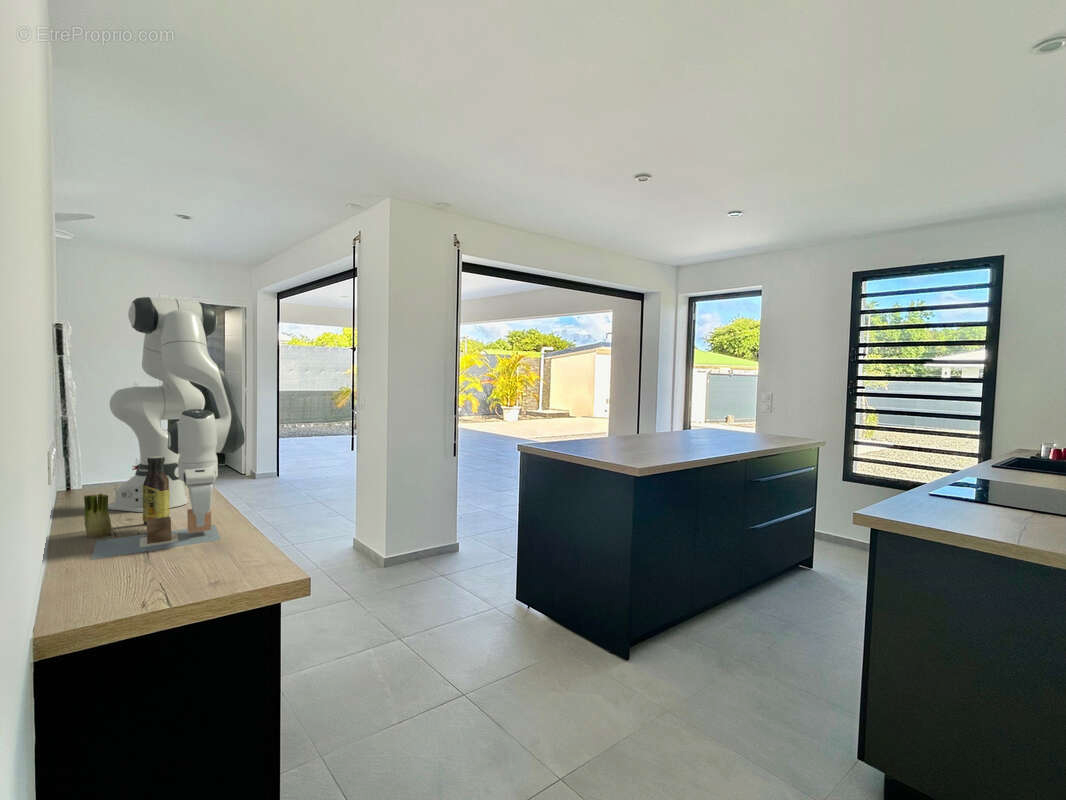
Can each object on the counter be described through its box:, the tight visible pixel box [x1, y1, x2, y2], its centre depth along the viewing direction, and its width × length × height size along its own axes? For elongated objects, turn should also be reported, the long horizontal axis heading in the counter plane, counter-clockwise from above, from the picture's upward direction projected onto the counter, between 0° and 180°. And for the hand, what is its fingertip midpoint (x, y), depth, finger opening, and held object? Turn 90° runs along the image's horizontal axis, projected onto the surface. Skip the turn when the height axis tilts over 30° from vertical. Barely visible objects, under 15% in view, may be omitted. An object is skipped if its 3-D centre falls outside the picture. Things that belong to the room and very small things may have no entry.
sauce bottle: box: [142, 456, 170, 526], centre depth 154 cm, size 7×6×20 cm
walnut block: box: [146, 516, 172, 544], centre depth 138 cm, size 5×5×5 cm
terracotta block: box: [186, 508, 212, 533], centre depth 143 cm, size 5×5×5 cm
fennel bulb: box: [83, 493, 112, 539], centre depth 141 cm, size 6×5×12 cm
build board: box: [90, 524, 222, 560], centre depth 138 cm, size 26×16×1 cm, turn 125°
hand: (199, 522), depth 143 cm, fingers closed on terracotta block, 5 cm apart
